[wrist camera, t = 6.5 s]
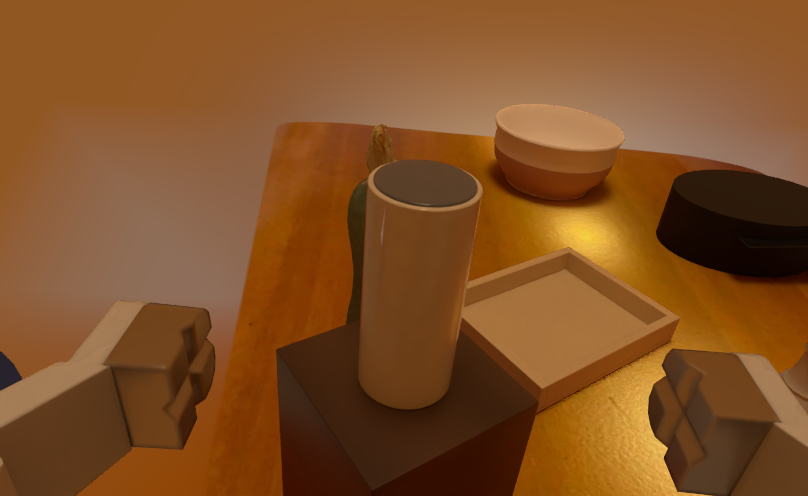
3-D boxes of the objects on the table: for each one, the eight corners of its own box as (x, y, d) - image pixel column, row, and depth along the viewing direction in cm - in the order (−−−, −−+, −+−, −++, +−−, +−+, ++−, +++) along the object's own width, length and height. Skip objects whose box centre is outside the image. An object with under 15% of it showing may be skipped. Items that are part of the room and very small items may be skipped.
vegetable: (362, 343, 47) (376, 100, 36) (409, 364, 45) (438, 116, 34) (330, 376, 43) (336, 119, 33) (380, 400, 42) (403, 137, 31)
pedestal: (359, 643, 28) (371, 490, 22) (283, 500, 34) (275, 348, 28) (496, 550, 33) (540, 402, 26) (407, 439, 39) (425, 296, 33)
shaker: (390, 425, 25) (410, 218, 19) (340, 361, 28) (346, 167, 22) (469, 387, 27) (508, 192, 21) (415, 333, 30) (437, 150, 24)
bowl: (507, 211, 68) (519, 148, 64) (472, 156, 81) (480, 101, 77) (630, 210, 71) (650, 150, 67) (577, 157, 84) (591, 104, 80)
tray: (534, 414, 42) (542, 388, 40) (431, 316, 50) (435, 292, 49) (670, 340, 50) (680, 317, 49) (563, 267, 59) (568, 246, 57)
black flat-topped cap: (633, 219, 71) (648, 164, 67) (773, 216, 72) (796, 162, 68) (688, 292, 59) (711, 231, 55) (855, 288, 60) (889, 227, 56)
